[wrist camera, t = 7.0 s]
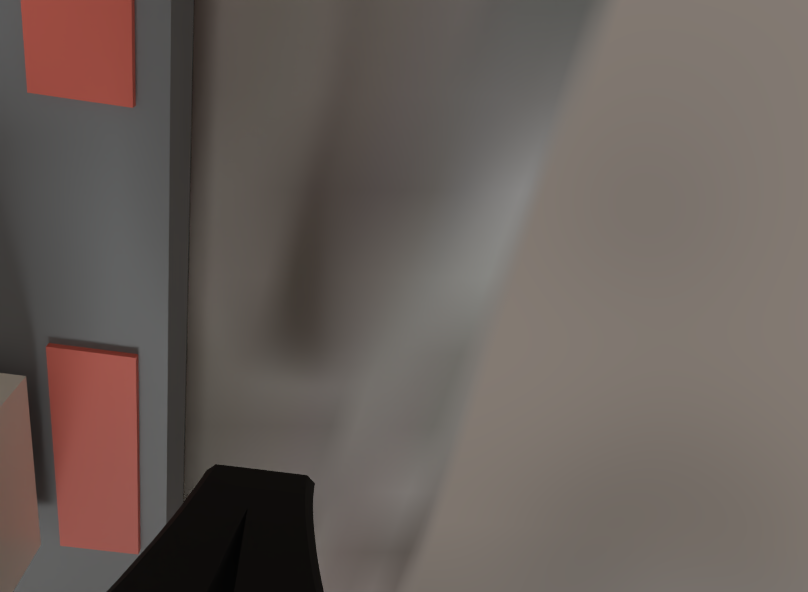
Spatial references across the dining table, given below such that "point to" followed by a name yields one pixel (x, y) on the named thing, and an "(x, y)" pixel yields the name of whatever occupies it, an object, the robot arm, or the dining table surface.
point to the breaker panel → (97, 270)
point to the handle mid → (16, 483)
